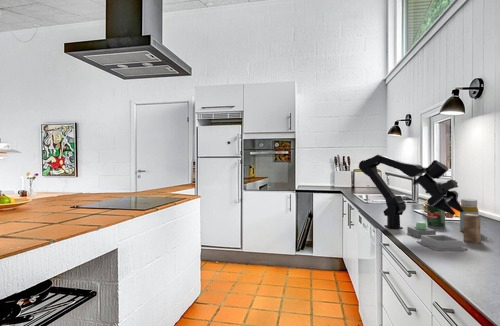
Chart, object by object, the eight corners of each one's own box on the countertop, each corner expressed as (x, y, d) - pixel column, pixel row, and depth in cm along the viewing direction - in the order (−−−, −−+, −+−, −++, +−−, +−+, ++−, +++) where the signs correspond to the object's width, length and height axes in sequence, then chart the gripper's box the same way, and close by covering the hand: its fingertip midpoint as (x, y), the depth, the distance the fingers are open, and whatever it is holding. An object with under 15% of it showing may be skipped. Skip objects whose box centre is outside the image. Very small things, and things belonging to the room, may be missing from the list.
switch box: (407, 233, 139) (407, 226, 139) (424, 232, 140) (424, 226, 140) (418, 237, 131) (418, 230, 131) (435, 237, 132) (435, 230, 132)
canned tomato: (445, 225, 155) (445, 204, 155) (445, 228, 148) (445, 206, 148) (427, 223, 159) (427, 203, 159) (426, 226, 153) (426, 205, 153)
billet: (463, 241, 125) (463, 214, 125) (467, 239, 128) (467, 213, 128) (476, 243, 121) (476, 216, 121) (480, 241, 124) (480, 215, 124)
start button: (414, 231, 138) (414, 221, 138) (422, 231, 138) (422, 221, 138) (419, 234, 134) (419, 223, 134) (428, 233, 134) (428, 223, 134)
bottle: (481, 233, 137) (481, 200, 137) (464, 233, 139) (464, 200, 138) (473, 230, 144) (473, 198, 144) (457, 229, 145) (457, 198, 145)
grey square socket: (416, 242, 124) (416, 234, 124) (444, 241, 125) (444, 234, 125) (436, 250, 112) (436, 242, 112) (467, 249, 113) (467, 241, 113)
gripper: (434, 174, 127) (465, 203, 118) (452, 172, 138) (482, 199, 129) (415, 191, 133) (443, 220, 125) (434, 189, 144) (461, 215, 136)
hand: (458, 213), depth 128 cm, fingers open, 9 cm apart
